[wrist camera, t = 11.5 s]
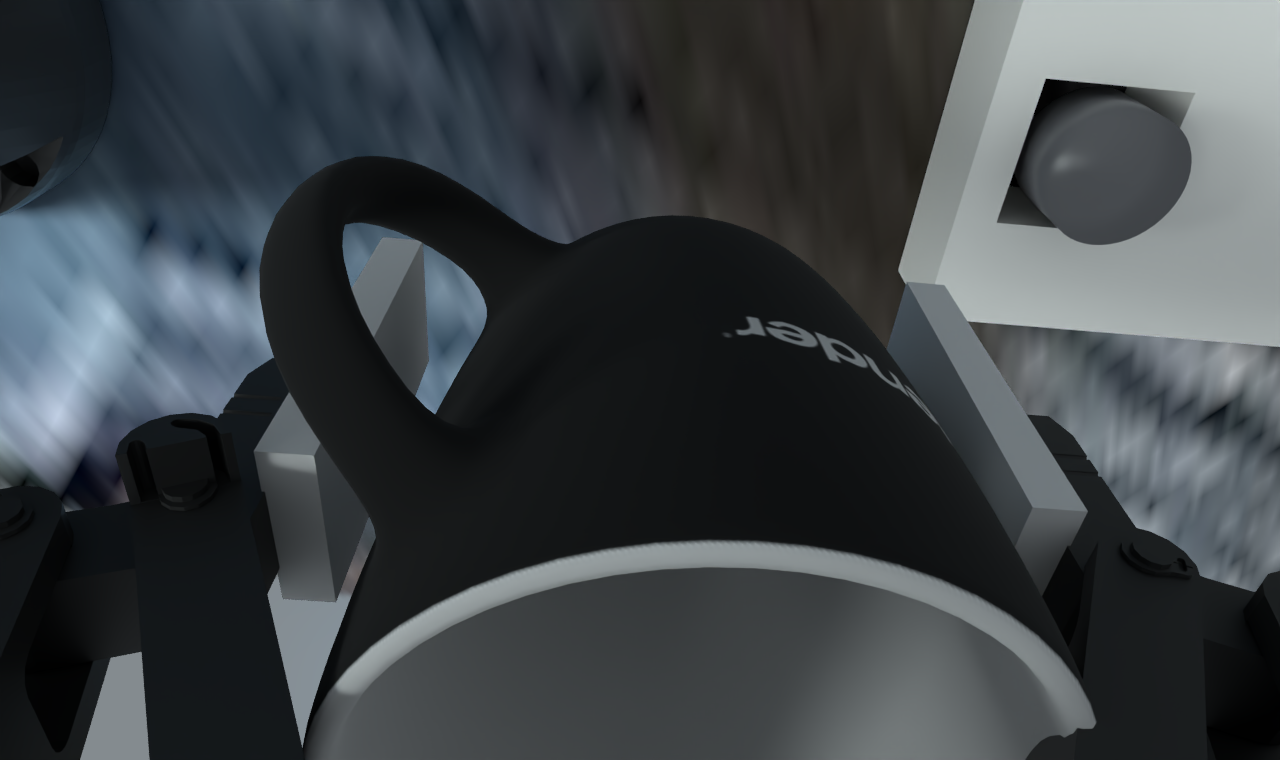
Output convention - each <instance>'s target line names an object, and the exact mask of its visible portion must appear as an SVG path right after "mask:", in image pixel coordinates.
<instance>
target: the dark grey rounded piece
mask: <svg viewBox="0 0 1280 760" xmlns="http://www.w3.org/2000/svg"><path fill="white" fill-rule="evenodd" d="M1191 164H1192V155H1191V149H1190V145H1189V142H1188V140H1187V138H1186V136H1185V134H1184V133H1183V131H1182V130H1181V129H1180V128H1179V127H1178V126H1177V125H1176V124H1175V123H1173V122H1172V121H1170V120H1169V119H1167V118H1165V117H1164V116H1162V115H1160V114H1158V113H1157V112H1155V111H1153V110H1152V109H1150V108H1148V107H1147V106H1145V105H1143V104H1142V103H1140V102H1138V101H1136V100H1135V99H1133V98H1131V97H1130V96H1128V95H1126V94H1124V93H1123V92H1121V91H1118V90H1115V89H1112V88H1107V87H1087V88H1082V89H1078V90H1075V91H1072V92H1069V93H1067V94H1065V95H1063V96H1061V97H1059V98H1057V99H1056V100H1054V101H1052V102H1051V103H1050V104H1048V105H1047V106H1046V107H1044V108H1043V109H1042V110H1041V111H1040V112H1039V113H1038V114H1037V115H1036V116H1035V117H1034V119H1033V120H1032V121H1031V123H1030V126H1029V129H1028V132H1027V135H1026V138H1025V141H1024V144H1023V147H1022V150H1021V153H1020V155H1019V158H1018V161H1017V164H1016V167H1015V175H1016V179H1017V182H1018V185H1019V186H1020V188H1021V190H1022V191H1023V193H1024V194H1025V195H1026V196H1027V197H1028V198H1029V199H1030V200H1031V201H1032V202H1033V203H1034V204H1035V205H1036V207H1037V208H1038V209H1039V210H1040V211H1041V212H1042V213H1043V214H1044V215H1045V216H1046V217H1047V218H1048V219H1049V220H1050V221H1051V222H1052V223H1053V224H1054V225H1055V226H1056V227H1057V228H1058V229H1059V230H1060V231H1061V232H1062V233H1063V234H1065V235H1066V236H1068V237H1069V238H1071V239H1073V240H1075V241H1077V242H1081V243H1084V244H1090V245H1108V244H1114V243H1119V242H1122V241H1125V240H1128V239H1131V238H1133V237H1135V236H1138V235H1139V234H1141V233H1143V232H1145V231H1147V230H1148V229H1149V228H1151V227H1152V226H1154V225H1155V224H1156V223H1158V222H1159V221H1160V220H1161V219H1162V218H1163V217H1164V216H1165V215H1166V214H1167V213H1168V212H1169V211H1170V210H1171V209H1172V208H1173V207H1174V205H1175V204H1176V203H1177V201H1178V200H1179V198H1180V197H1181V195H1182V193H1183V191H1184V189H1185V187H1186V185H1187V182H1188V179H1189V176H1190V172H1191Z"/></svg>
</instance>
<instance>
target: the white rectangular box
mask: <svg viewBox="0 0 1280 760" xmlns="http://www.w3.org/2000/svg"><path fill="white" fill-rule="evenodd" d="M1046 79H1056V80H1066V81H1077V82H1087V83H1098V84H1108V85H1118V86H1127V89H1126V91H1125V94H1126V95H1128V96H1130V97H1131V98H1133V99H1135V100H1136V101H1138V102H1140V103H1142V104H1143V105H1145V106H1147V107H1148V108H1150V109H1152V110H1153V111H1155V112H1157V113H1158V114H1160V115H1162V116H1164V117H1165V118H1167V119H1169V120H1170V121H1172V122H1173V123H1175V124H1176V125H1177V126H1178V127H1179V128H1180V129H1181V130H1182V131H1183V133H1184V134H1185V136H1186V138H1187V140H1188V142H1189V145H1190V149H1191V155H1192V164H1191V172H1190V176H1189V179H1188V182H1187V185H1186V187H1185V189H1184V191H1183V193H1182V195H1181V197H1180V198H1179V200H1178V201H1177V203H1176V204H1175V205H1174V207H1173V208H1172V209H1171V210H1170V211H1169V212H1168V213H1167V214H1166V215H1165V216H1164V217H1163V218H1162V219H1161V220H1160V221H1159V222H1158V223H1156V224H1155V225H1154V226H1152V227H1151V228H1149V229H1148V230H1147V231H1145V232H1143V233H1141V234H1139V235H1138V236H1135V237H1133V238H1131V239H1128V240H1125V241H1122V242H1119V243H1114V244H1108V245H1090V244H1084V243H1081V242H1077V241H1075V240H1073V239H1071V238H1069V237H1068V236H1066V235H1065V234H1063V233H1062V232H1061V231H1060V230H1059V229H1058V228H1057V227H1056V226H1055V225H1054V224H1053V223H1052V222H1051V221H1050V220H1049V219H1048V218H1047V217H1046V216H1045V215H1044V214H1043V213H1042V212H1041V211H1040V210H1039V209H1038V208H1037V207H1036V205H1035V204H1034V203H1033V202H1032V201H1031V200H1030V199H1029V198H1028V197H1027V196H1026V195H1025V194H1024V193H1023V191H1022V190H1021V188H1020V187H1011V186H1009V185H1010V182H1011V179H1012V176H1013V173H1014V170H1015V167H1016V164H1017V161H1018V158H1019V155H1020V153H1021V150H1022V147H1023V144H1024V141H1025V138H1026V135H1027V132H1028V129H1029V126H1030V123H1031V120H1032V117H1033V115H1034V112H1035V109H1036V106H1037V103H1038V100H1039V97H1040V94H1041V91H1042V88H1043V85H1044V82H1045V80H1046ZM898 271H899V273H900V275H901V277H902V279H903V280H904V282H905V284H906V283H907V282H916V283H927V284H939V285H945V287H946V288H947V290H948V291H949V293H950V294H951V296H952V298H953V299H954V301H955V302H956V304H957V306H958V307H959V309H960V310H961V312H962V313H963V315H964V317H965V318H966V320H967V321H971V322H983V323H995V324H1007V325H1020V326H1032V327H1044V328H1056V329H1068V330H1080V331H1092V332H1105V333H1117V334H1129V335H1141V336H1153V337H1165V338H1177V339H1190V340H1202V341H1214V342H1226V343H1238V344H1250V345H1262V346H1275V347H1280V0H975V2H974V5H973V9H972V12H971V16H970V19H969V23H968V26H967V30H966V33H965V37H964V40H963V44H962V47H961V51H960V54H959V58H958V61H957V65H956V68H955V72H954V75H953V79H952V82H951V86H950V90H949V93H948V97H947V100H946V104H945V107H944V111H943V114H942V118H941V121H940V125H939V128H938V132H937V135H936V139H935V142H934V146H933V149H932V153H931V156H930V160H929V163H928V167H927V170H926V174H925V177H924V181H923V184H922V188H921V192H920V195H919V199H918V202H917V206H916V209H915V213H914V216H913V220H912V223H911V227H910V230H909V234H908V237H907V241H906V244H905V248H904V251H903V255H902V258H901V262H900V265H899V269H898Z"/></svg>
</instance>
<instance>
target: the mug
mask: <svg viewBox="0 0 1280 760" xmlns="http://www.w3.org/2000/svg"><path fill="white" fill-rule="evenodd" d="M350 223H367V224H372V225H378V226H382V227H385V228H388V229H391V230H394V231H397V232H400V233H402V234H404V235H407V236H409V237H411V238H414V239H416V240H418V241H420V242H422V243H424V244H425V245H427V246H429V247H431V248H433V249H435V250H436V251H438V252H439V253H441V254H442V255H444V256H446V257H447V258H449V259H450V260H451V261H453V262H454V263H455V264H456V265H458V266H459V267H460V268H462V269H463V270H464V271H465V272H466V273H467V274H468V275H469V276H470V277H471V278H472V280H473V281H474V282H475V284H476V285H477V287H478V288H479V290H480V292H481V294H482V296H483V298H484V300H485V304H486V307H487V319H486V323H485V327H484V329H483V331H482V334H481V335H480V337H479V339H478V341H477V343H476V344H475V346H474V347H473V349H472V351H471V352H470V354H469V355H468V357H467V359H466V360H465V362H464V364H463V366H462V367H461V369H460V371H459V372H458V374H457V376H456V378H455V379H454V381H453V383H452V385H451V387H450V388H449V390H448V392H447V394H446V396H445V398H444V399H443V401H442V403H441V405H440V407H439V409H438V410H437V412H436V414H434V413H432V412H431V411H430V410H428V409H427V408H426V407H425V406H424V405H423V404H422V403H421V402H420V401H419V400H418V399H417V398H416V397H415V396H414V394H413V393H412V392H411V391H410V390H409V389H408V388H407V387H406V385H405V384H404V382H403V381H402V380H401V378H400V377H399V376H398V374H397V373H396V372H395V370H394V369H393V367H392V366H391V365H390V363H389V362H388V360H387V358H386V357H385V355H384V354H383V352H382V350H381V349H380V347H379V346H378V344H377V343H376V341H375V339H374V337H373V336H372V334H371V332H370V330H369V328H368V326H367V324H366V322H365V320H364V318H363V316H362V314H361V312H360V309H359V307H358V304H357V302H356V299H355V297H354V294H353V291H352V289H351V286H350V282H349V278H348V275H347V271H346V267H345V263H344V257H343V248H342V241H343V230H344V226H345V224H350ZM260 299H261V305H262V310H263V316H264V322H265V327H266V333H267V337H268V340H269V343H270V346H271V349H272V352H273V355H274V358H275V361H276V364H277V366H278V369H279V371H280V373H281V375H282V377H283V379H284V382H285V384H286V386H287V388H288V390H289V392H290V394H291V396H292V398H293V399H294V401H295V403H296V405H297V406H298V408H299V410H300V411H301V413H302V415H303V417H304V418H305V420H306V422H307V423H308V425H309V426H310V428H311V429H312V431H313V432H314V434H315V435H316V437H317V438H318V440H319V442H320V443H321V445H322V446H323V448H324V449H325V451H326V452H327V453H328V455H329V456H330V458H331V459H332V461H333V462H334V463H335V465H336V466H337V468H338V469H339V471H340V472H341V474H342V475H343V476H344V478H345V479H346V481H347V482H348V484H349V485H350V486H351V488H352V489H353V491H354V492H355V494H356V495H357V497H358V498H359V500H360V501H361V503H362V505H363V506H364V508H365V509H366V511H367V513H368V514H369V517H370V519H371V521H372V524H373V526H374V529H375V534H376V539H375V541H374V543H373V546H372V548H371V550H370V553H369V555H368V557H367V560H366V562H365V564H364V567H363V569H362V571H361V574H360V576H359V579H358V581H357V584H356V586H355V589H354V591H353V594H352V596H351V599H350V601H349V604H348V607H347V609H346V612H345V615H344V618H343V620H342V623H341V626H340V628H339V631H338V634H337V636H336V639H335V641H334V644H333V647H332V649H331V652H330V655H329V657H328V660H327V663H326V666H325V669H324V672H323V675H322V678H321V681H320V684H319V687H318V690H317V693H316V696H315V699H314V703H313V706H312V709H311V713H310V716H309V719H308V723H307V728H306V733H305V738H304V743H303V748H302V749H303V754H304V758H305V760H1025V759H1026V758H1027V756H1028V755H1029V753H1030V752H1031V751H1032V749H1033V748H1034V747H1035V746H1036V745H1037V744H1038V743H1039V742H1040V741H1041V740H1043V739H1045V738H1047V737H1049V736H1054V735H1061V736H1063V737H1064V738H1065V737H1066V736H1068V735H1070V734H1073V733H1074V732H1075V730H1076V729H1077V728H1081V729H1093V727H1094V726H1095V724H1096V722H1097V721H1096V718H1095V714H1094V711H1093V707H1092V704H1091V701H1090V698H1089V695H1088V692H1087V689H1086V686H1085V684H1084V681H1083V679H1082V677H1081V675H1080V672H1079V670H1078V668H1077V666H1076V663H1075V661H1074V659H1073V657H1072V655H1071V653H1070V651H1069V649H1068V646H1067V644H1066V642H1065V640H1064V638H1063V636H1062V634H1061V632H1060V630H1059V628H1058V626H1057V624H1056V622H1055V620H1054V618H1053V617H1052V615H1051V613H1050V611H1049V609H1048V607H1047V605H1046V603H1045V601H1044V599H1043V598H1042V596H1041V594H1040V592H1039V590H1038V588H1037V586H1036V585H1035V583H1034V581H1033V579H1032V577H1031V575H1030V574H1029V572H1028V570H1027V568H1026V566H1025V564H1024V563H1023V561H1022V559H1021V557H1020V556H1019V554H1018V552H1017V550H1016V549H1015V547H1014V545H1013V543H1012V542H1011V540H1010V538H1009V536H1008V535H1007V533H1006V531H1005V529H1004V528H1003V526H1002V524H1001V523H1000V521H999V519H998V517H997V516H996V514H995V512H994V511H993V509H992V507H991V506H990V504H989V502H988V501H987V499H986V497H985V496H984V494H983V492H982V491H981V489H980V487H979V486H978V484H977V482H976V481H975V479H974V478H973V476H972V474H971V473H970V471H969V470H968V468H967V466H966V465H965V463H964V462H963V460H962V458H961V457H960V455H959V454H958V452H957V451H956V449H955V448H954V446H953V445H952V443H951V441H950V440H949V438H948V437H947V435H946V434H945V432H944V431H943V429H942V428H941V426H940V425H939V423H938V422H937V420H936V419H935V417H934V416H933V414H932V413H931V411H930V410H929V409H928V407H927V406H926V404H925V403H924V401H923V400H922V398H921V397H920V395H919V394H918V393H917V391H916V390H915V388H914V387H913V386H912V384H911V383H910V381H909V380H908V378H907V377H906V376H905V374H904V373H903V372H902V370H901V369H900V367H899V366H898V365H897V363H896V362H895V360H894V359H893V358H892V356H891V355H890V354H889V352H888V351H887V350H886V348H885V347H884V346H883V345H882V343H881V342H880V341H879V339H878V338H877V337H876V336H875V334H874V333H873V332H872V331H871V329H870V328H869V327H868V326H867V325H866V323H865V322H864V321H863V320H862V319H861V318H860V316H859V315H858V314H857V313H856V312H855V311H854V310H853V309H852V307H851V306H850V305H849V304H848V303H847V302H846V301H845V300H844V299H843V298H842V297H841V295H840V294H839V293H838V292H837V291H836V290H835V289H834V288H833V287H832V286H831V285H830V284H829V283H828V282H827V281H826V280H825V279H824V278H822V277H821V276H820V275H819V274H818V273H817V272H816V271H814V270H813V269H812V268H811V267H810V266H809V265H807V264H806V263H805V262H804V261H802V260H801V259H800V258H799V257H797V256H796V255H794V254H793V253H791V252H790V251H789V250H787V249H786V248H784V247H782V246H781V245H779V244H777V243H775V242H773V241H772V240H770V239H768V238H766V237H764V236H762V235H760V234H758V233H755V232H753V231H751V230H748V229H746V228H743V227H740V226H737V225H733V224H730V223H727V222H723V221H718V220H713V219H709V218H701V217H693V216H656V217H647V218H641V219H634V220H630V221H626V222H622V223H618V224H615V225H612V226H609V227H606V228H603V229H601V230H598V231H595V232H593V233H591V234H589V235H587V236H584V237H582V238H580V239H578V240H576V241H574V242H572V243H569V244H561V243H557V242H554V241H551V240H548V239H546V238H544V237H542V236H539V235H537V234H536V233H534V232H532V231H530V230H528V229H527V228H525V227H523V226H522V225H520V224H519V223H517V222H516V221H514V220H513V219H511V218H510V217H508V216H507V215H506V214H504V213H503V212H501V211H500V210H499V209H497V208H496V207H494V206H493V205H492V204H490V203H489V202H487V201H486V200H484V199H483V198H482V197H480V196H479V195H477V194H475V193H474V192H472V191H471V190H469V189H468V188H466V187H464V186H463V185H461V184H459V183H458V182H456V181H454V180H452V179H450V178H448V177H447V176H445V175H443V174H441V173H439V172H436V171H434V170H432V169H429V168H427V167H425V166H422V165H419V164H416V163H413V162H409V161H406V160H403V159H396V158H389V157H380V156H365V157H354V158H351V159H347V160H344V161H340V162H338V163H335V164H332V165H330V166H327V167H325V168H324V169H322V170H320V171H319V172H317V173H316V174H314V175H313V176H311V177H310V178H309V179H307V180H306V181H305V182H303V183H302V184H301V185H299V186H298V187H297V189H296V190H295V191H294V192H293V193H292V195H291V196H290V197H289V198H288V199H287V201H286V202H285V203H284V205H283V206H282V207H281V209H280V210H279V211H278V213H277V214H276V217H275V219H274V221H273V223H272V226H271V228H270V230H269V232H268V235H267V238H266V241H265V244H264V248H263V253H262V259H261V264H260Z"/></svg>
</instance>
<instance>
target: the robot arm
mask: <svg viewBox="0 0 1280 760" xmlns="http://www.w3.org/2000/svg"><path fill="white" fill-rule="evenodd" d="M111 82H112V66H111V52H110V44H109V38H108V33H107V28H106V23H105V19H104V16H103V12H102V8H101V5H100V2H99V0H0V216H2V215H4V214H7V213H10V212H12V211H14V210H16V209H18V208H21V207H22V206H24V205H26V204H27V203H29V202H31V201H32V200H34V199H36V198H37V197H39V196H40V195H42V194H43V193H45V192H47V191H48V190H50V189H51V188H53V187H54V186H56V185H58V184H59V183H60V182H62V181H63V180H64V179H66V178H67V177H68V176H70V175H71V174H72V173H73V172H74V171H75V170H76V169H77V168H78V167H79V166H80V165H81V164H82V162H83V161H84V160H85V159H86V157H87V156H88V155H89V153H90V152H91V150H92V149H93V147H94V145H95V143H96V141H97V140H98V138H99V135H100V133H101V130H102V128H103V125H104V122H105V119H106V116H107V112H108V107H109V102H110V94H111ZM352 291H353V294H354V297H355V299H356V302H357V304H358V307H359V309H360V312H361V314H362V316H363V318H364V320H365V322H366V324H367V326H368V328H369V330H370V332H371V334H372V336H373V337H374V339H375V341H376V343H377V344H378V346H379V347H380V349H381V350H382V352H383V354H384V355H385V357H386V358H387V360H388V362H389V363H390V365H391V366H392V367H393V369H394V370H395V372H396V373H397V374H398V376H399V377H400V378H401V380H402V381H403V382H404V384H405V385H406V387H407V388H408V389H409V390H410V391H411V392H412V393H413V394H414V396H415V395H416V392H417V390H418V387H419V385H420V382H421V379H422V377H423V374H424V372H425V369H426V366H427V364H428V361H429V356H428V337H427V317H426V297H425V278H424V258H423V243H422V242H420V241H418V240H410V239H398V238H386V237H382V239H381V241H380V242H379V244H378V246H377V247H376V249H375V251H374V252H373V254H372V256H371V257H370V259H369V261H368V262H367V264H366V266H365V267H364V269H363V271H362V272H361V274H360V275H359V277H358V279H357V280H356V282H355V284H354V285H353V287H352ZM887 351H888V352H889V354H890V355H891V356H892V358H893V359H894V360H895V362H896V363H897V365H898V366H899V367H900V369H901V370H902V372H903V373H904V374H905V376H906V377H907V378H908V380H909V381H910V383H911V384H912V386H913V387H914V388H915V390H916V391H917V393H918V394H919V395H920V397H921V398H922V400H923V401H924V403H925V404H926V406H927V407H928V409H929V410H930V411H931V413H932V414H933V416H934V417H935V419H936V420H937V422H938V423H939V425H940V426H941V428H942V429H943V431H944V432H945V434H946V435H947V437H948V438H949V440H950V441H951V443H952V445H953V446H954V448H955V449H956V451H957V452H958V454H959V455H960V457H961V458H962V460H963V462H964V463H965V465H966V466H967V468H968V470H969V471H970V473H971V474H972V476H973V478H974V479H975V481H976V482H977V484H978V486H979V487H980V489H981V491H982V492H983V494H984V496H985V497H986V499H987V501H988V502H989V504H990V506H991V507H992V509H993V511H994V512H995V514H996V516H997V517H998V519H999V521H1000V523H1001V524H1002V526H1003V528H1004V529H1005V531H1006V533H1007V535H1008V536H1009V538H1010V540H1011V542H1012V543H1013V545H1014V547H1015V549H1016V550H1017V552H1018V554H1019V556H1020V557H1021V559H1022V561H1023V563H1024V564H1025V566H1026V568H1027V570H1028V572H1029V574H1030V575H1031V577H1032V579H1033V581H1034V583H1035V585H1036V586H1037V588H1038V590H1039V592H1040V594H1041V596H1042V598H1043V599H1044V601H1045V603H1046V605H1047V607H1048V609H1049V611H1050V613H1051V615H1052V617H1053V618H1054V620H1055V622H1056V624H1057V626H1058V628H1059V630H1060V632H1061V634H1062V636H1063V638H1064V640H1065V642H1066V644H1067V646H1068V649H1069V651H1070V653H1071V655H1072V657H1073V659H1074V661H1075V663H1076V666H1077V668H1078V670H1079V672H1080V675H1081V677H1082V679H1083V681H1084V684H1085V686H1086V689H1087V692H1088V695H1089V698H1090V701H1091V704H1092V707H1093V711H1094V714H1095V718H1096V721H1097V722H1096V724H1095V726H1094V727H1093V729H1081V728H1077V729H1076V730H1075V732H1074V733H1073V734H1070V735H1068V736H1066V737H1065V738H1064V737H1063V736H1061V735H1054V736H1049V737H1047V738H1045V739H1043V740H1041V741H1040V742H1039V743H1038V744H1037V745H1036V746H1035V747H1034V748H1033V749H1032V751H1031V752H1030V753H1029V755H1028V756H1027V758H1026V759H1025V760H1280V571H1278V572H1274V573H1270V574H1268V575H1267V577H1266V578H1265V579H1264V581H1263V582H1262V584H1261V585H1260V587H1259V588H1258V589H1257V591H1256V592H1252V591H1249V590H1245V589H1242V588H1238V587H1235V586H1231V585H1228V584H1224V583H1221V582H1218V581H1214V580H1211V579H1207V578H1204V577H1202V576H1200V575H1199V572H1198V569H1197V566H1196V565H1195V563H1194V562H1193V561H1192V560H1191V559H1190V558H1189V556H1188V555H1187V554H1186V553H1185V552H1184V551H1183V550H1181V549H1180V548H1178V547H1177V546H1176V545H1174V544H1173V543H1172V542H1170V541H1169V540H1167V539H1165V538H1163V537H1160V536H1158V535H1156V534H1154V533H1152V532H1150V531H1146V530H1142V529H1138V528H1136V527H1135V525H1134V524H1133V523H1132V521H1131V520H1130V518H1129V517H1128V515H1127V514H1126V512H1125V511H1124V509H1123V508H1122V507H1121V505H1120V504H1119V502H1118V501H1117V499H1116V498H1115V496H1114V495H1113V493H1112V492H1111V490H1110V489H1109V488H1108V486H1107V485H1106V483H1105V482H1104V480H1103V479H1102V477H1098V472H1097V470H1096V469H1095V467H1094V466H1093V464H1092V463H1091V461H1090V460H1087V459H1086V457H1087V456H1086V454H1085V453H1084V451H1083V450H1082V448H1081V447H1080V445H1079V444H1078V442H1077V441H1076V439H1075V438H1074V437H1073V435H1072V434H1070V433H1069V432H1068V431H1066V430H1065V429H1064V428H1063V427H1061V426H1060V425H1059V424H1058V423H1056V422H1055V421H1054V420H1053V419H1051V418H1050V417H1049V416H1037V415H1027V414H1026V413H1025V411H1024V410H1023V408H1022V407H1021V405H1020V403H1019V402H1018V400H1017V399H1016V397H1015V396H1014V394H1013V392H1012V391H1011V389H1010V388H1009V386H1008V384H1007V383H1006V381H1005V380H1004V378H1003V377H1002V375H1001V373H1000V372H999V370H998V369H997V367H996V366H995V364H994V362H993V361H992V359H991V358H990V356H989V354H988V353H987V351H986V350H985V348H984V347H983V345H982V343H981V342H980V340H979V339H978V337H977V336H976V334H975V332H974V331H973V329H972V328H971V326H970V324H969V323H968V321H967V320H966V318H965V317H964V315H963V313H962V312H961V310H960V309H959V307H958V306H957V304H956V302H955V301H954V299H953V298H952V296H951V294H950V293H949V291H948V290H947V288H946V287H945V285H939V284H927V283H916V282H907V283H906V286H905V289H904V293H903V296H902V300H901V303H900V306H899V310H898V313H897V317H896V320H895V323H894V327H893V330H892V334H891V337H890V340H889V344H888V347H887ZM115 457H116V460H117V463H118V466H119V469H120V473H121V476H122V479H123V482H124V485H125V489H126V492H127V495H128V498H129V502H126V503H121V504H116V505H111V506H104V507H98V508H91V509H84V510H77V511H70V512H65V509H64V506H63V503H62V502H61V500H60V499H59V498H58V496H57V495H56V494H55V493H54V492H52V491H49V490H46V489H44V488H41V487H31V486H16V487H10V488H5V489H0V760H80V758H81V754H82V751H83V747H84V744H85V741H86V738H87V734H88V731H89V728H90V725H91V721H92V718H93V715H94V711H95V708H96V705H97V701H98V698H99V695H100V691H101V688H102V684H103V681H104V678H105V675H106V671H107V668H108V665H109V661H110V658H111V657H116V656H121V655H127V654H132V653H136V652H142V661H143V662H142V663H143V676H144V689H145V703H146V717H147V729H148V743H149V757H150V760H305V758H304V754H303V749H302V745H301V740H300V736H299V732H298V727H297V723H296V718H295V714H294V710H293V705H292V701H291V696H290V692H289V688H288V683H287V679H286V675H285V670H284V666H283V661H282V657H281V652H280V648H279V644H278V639H277V635H276V631H275V626H274V622H273V617H272V613H271V608H270V604H269V600H268V595H267V594H268V591H269V589H270V587H271V585H272V583H273V581H274V579H275V577H276V575H277V573H278V577H279V582H280V587H281V592H282V597H283V599H293V600H308V601H325V602H336V601H337V598H338V595H339V593H340V590H341V587H342V585H343V582H344V580H345V577H346V574H347V572H348V569H349V567H350V564H351V561H352V559H353V556H354V554H355V551H356V548H357V546H358V543H359V541H360V538H361V535H362V533H363V530H364V528H365V525H366V522H367V520H368V517H369V514H368V513H367V511H366V509H365V508H364V506H363V505H362V503H361V501H360V500H359V498H358V497H357V495H356V494H355V492H354V491H353V489H352V488H351V486H350V485H349V484H348V482H347V481H346V479H345V478H344V476H343V475H342V474H341V472H340V471H339V469H338V468H337V466H336V465H335V463H334V462H333V461H332V459H331V458H330V456H329V455H328V453H327V452H326V451H325V449H324V448H323V446H322V445H321V443H320V442H319V440H318V438H317V437H316V435H315V434H314V432H313V431H312V429H311V428H310V426H309V425H308V423H307V422H306V420H305V418H304V417H303V415H302V413H301V411H300V410H299V408H298V406H297V405H296V403H295V401H294V399H293V398H292V396H291V394H290V392H289V390H288V388H287V386H286V384H285V382H284V379H283V377H282V375H281V373H280V371H279V369H278V366H277V364H276V361H275V358H272V359H270V360H269V361H267V362H266V363H264V364H263V365H261V366H260V367H258V368H257V369H255V370H254V371H252V372H251V373H249V374H248V375H247V376H246V378H245V379H244V381H243V382H242V383H241V385H240V386H239V388H238V389H237V391H236V392H235V393H234V398H231V399H230V401H229V402H228V404H227V405H226V406H225V408H224V409H223V414H220V415H219V417H218V418H215V417H213V416H211V415H203V414H196V413H186V414H174V415H168V416H165V417H161V418H158V419H154V420H151V421H148V422H146V423H145V424H143V425H141V426H139V427H137V428H135V429H134V430H132V431H130V432H129V433H128V434H127V435H126V436H125V437H124V438H123V439H122V440H121V441H120V442H119V445H118V448H117V451H116V454H115Z"/></svg>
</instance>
